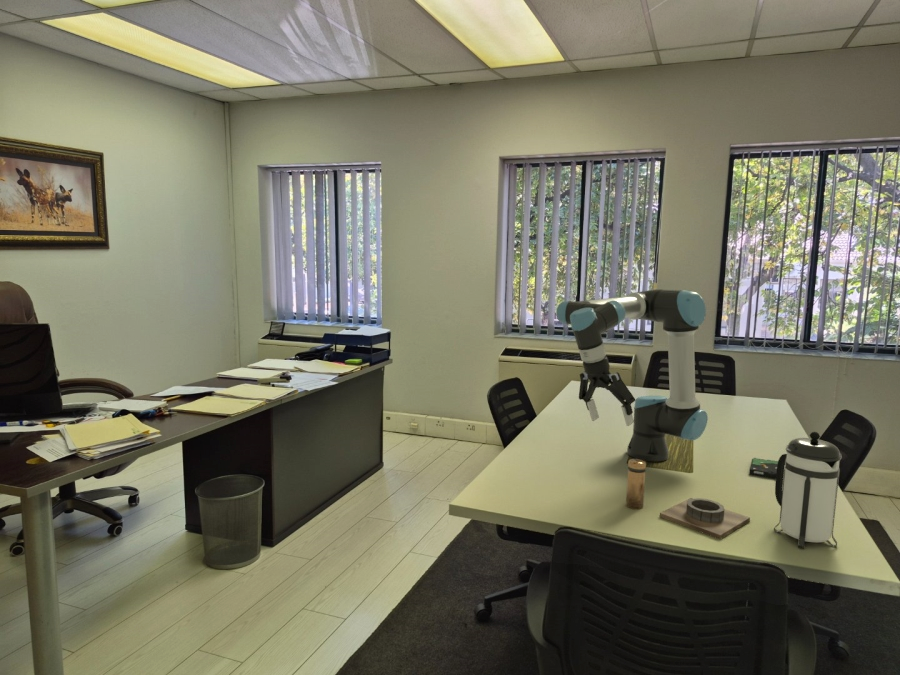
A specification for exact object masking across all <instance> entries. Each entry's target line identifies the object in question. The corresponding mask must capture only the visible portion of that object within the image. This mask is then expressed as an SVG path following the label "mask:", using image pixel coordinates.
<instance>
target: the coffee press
mask: <svg viewBox="0 0 900 675" xmlns="http://www.w3.org/2000/svg"><path fill="white" fill-rule="evenodd" d="M820 438H821V436H820V433H819V432H818V431H812V432H810V434H809V437H798V438H794V439H792V440H790V441H789V442H788V444H786V446H785V451H786V453H783V454H781V455H780V457H779V459H778V460H777V461H778V465H777V473H776V479H775V483H774V486H775V487H774V495H775V499H776V502H777V503H778V505H779V506H780V512H779V522H778V523H777V524H776V525H775V526H774V528H773V532H774V533H780V532H783V533H785V534H787V535H788V536H790V537H792V538H794V539H797V540H798V542H797V548H798V549H802V550H803V549H805V545H806V542H807V543H825V542H826V543H827V544H829V546H831V547H832V548H836V547H837V546H838V542H837V540H836V539H835V536H834V527H835V526H834V525H835V516H836V507H837V497H838V489H839V479H840V472H841V470H840V462H841V460H842V455H843V454H842V453H841V452H840V449H839V448H838V446H836V445H835V444H833V443H832V442H829V441H825V440H822V439H820ZM779 525H780V528H781V529H779V530H777V529H776V528H777V527H778V526H779ZM831 538H832V541H833V542H834V543H835V544H833V543H831V541H830V539H831Z"/></svg>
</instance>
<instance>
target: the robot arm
mask: <svg viewBox="0 0 900 675" xmlns="http://www.w3.org/2000/svg"><path fill="white" fill-rule="evenodd" d="M706 312H707V309H706V303H705V301H704V299H703V297H702V296H701V295H700V294H699V293H698V292H695V291H690V290H689V291H688V290H686V289H685V290H684V289H683V290H680V289H678V290H677V289H658V288H657V289H649V290H641V291H636V292H630V293H628V294H627V295H626V296H617V297H609V298H600V299H599V298H597V299H590V300H579V301H572V300H568V301H567V300H564V301H561V302H560V303H559V304H558V305H557V307H556V313H555V314H556V318H557V320H558V322H560V323H561V324H566V325H568V326H569V325H571V330H572V333H573V335H574V339H575V342H576V344H577V345H576V346H577V348H578V352H579V355H580V359H581V361H582V366H583V369H584V371H583V372H581V373H580V374H579V378H580V382H579V393H578V399H579V400H580V401H581V400H582V401H583V402H584V403H585V405H586V408H587V411H588V412H589V415H590V418H591V422H595V421H596V420H597V419H599V418H600V416H599V413H598V410H597V405H596V402H595V398H593V395H594V393H595V390H596V389H597V388H598V389H599V388H601V389H605V390H607V391H609V392H610V393H611V394H612V395H613V396H614V397H615V398H616V399H617V401H619V402H620V403H621V406H620V407H621V410H622V415H623V418H624V421H625V425H626V427H630V426H631V425H633V429H632V430H633V431H632V436H631V438H630V440H629V442H628V445H627V450H626V454H627V455H628V456H629V457H631V458H632V459H639V460H643V461H645V462H664V461H666V460H668V459H669V457H670V456H669V455H670V454H669V453H670V451H669V448H668V444H667V441H666V435H668V436H672V437H674V438H679V439H681V440H688V441H696V440H697V439H699V438H701V436H702V435H703V433H704V432H705V430H706V427H707V425H708V419H709V417H708V414H707V411H706V410H704V409H703V408H702V409H701V402H700V400H699V399H698V398H697V397H696V370H695V368H696V367H695V366H696V364H695V360H696V359H695V358H696V357H695V333H696V332H697V331H699V326H701V325H702V324H703V323H704V321H705V317H706V314H707V313H706ZM625 319H630V320H633V321H634V320H644V321H649V322H650V321H651V322H657V323H662V329H663V331H664V332H665V333H666V334H667V347H668V348H667V350H668V351H667V352H668V354H667V355H668V379H669V383H668V384H669V386H668V387H669V397H667V396H665V395H643V396H638V397H637V398H635V397H634V395H633V394H632V392H631V391H630V390H629V388H628V386H627V385H626V384H625V383H624V381H623V379H622V378H621V374H620V373H619V372H618V371H617V372H615V373H611V372H610V368H611V367H610V363H609V362H610V361H609V358H608V356H606V355H607V352H606V348H605V345H604V344H605V343H604V340H603V337H602V335H603V334H604V333H606V332H608V331H610V330H611V329H612V328H615V327H617V326H618V325H619V324H621V323H622V322H623V321H624V320H625ZM632 404H634V407H633V408H632Z"/></svg>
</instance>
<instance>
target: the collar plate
mask: <svg viewBox="0 0 900 675" xmlns="http://www.w3.org/2000/svg"><path fill="white" fill-rule="evenodd" d="M659 517H660V518H662V519H664V520H668V521H670V522H672V523H676V524H678V525H680V524H681V526H683V525H684V526H683V527H685V528H688V527H689V528H688V529H691V528H692V529H691V530H694V531H696V530H697V532H699V531H700V533H702V532H703V534H705V535H707V534H708V536H710V535H711V537H712V538H715V537H716V539H719V540H721V538H722V539H723V538H725V537H726V536H728V535H730V534H732V533H733V532H734V531H736V530H738V529H739V528H742V527H743V526H745V525H746V524H749V522H751V517H750V516H747V515H743V514H741V513H737V512H736V511H732V510H730V509H729V510H728V509H727V508H725V506H724V505H723V504H721V503H720V502H718V501H715V500H711V499H707V498H702V497H701V498H698V497H697V498H693V497H690V498H688V499H686V500H683V501H682V502H679V503H677V504H676V505H673V506H671V507H669V508H667V509H665V510H663V511H661V512H659Z"/></svg>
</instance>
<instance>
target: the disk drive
mask: <svg viewBox="0 0 900 675" xmlns="http://www.w3.org/2000/svg"><path fill="white" fill-rule="evenodd" d="M777 465H778V460H773V459H771V460H770V459H763V458H762V459H761V458H757V457H752V459H751V462H750V466H749V475H750V476H757V477H761V478H767V479H773V480H776V473H777Z"/></svg>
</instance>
